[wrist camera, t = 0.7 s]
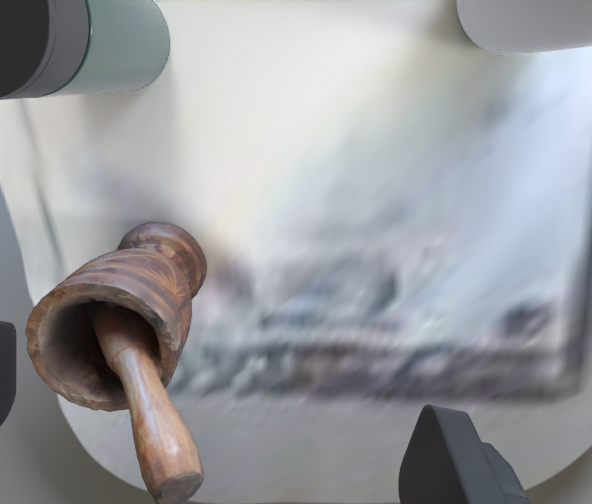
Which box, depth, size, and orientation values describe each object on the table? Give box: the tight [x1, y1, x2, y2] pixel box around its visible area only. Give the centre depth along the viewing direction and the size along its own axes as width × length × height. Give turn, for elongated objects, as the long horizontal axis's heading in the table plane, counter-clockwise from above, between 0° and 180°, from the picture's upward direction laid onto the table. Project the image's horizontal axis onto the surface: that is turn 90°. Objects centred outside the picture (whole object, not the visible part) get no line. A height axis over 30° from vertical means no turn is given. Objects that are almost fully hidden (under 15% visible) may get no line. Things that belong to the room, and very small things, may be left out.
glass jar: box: [32, 0, 170, 98], centre depth 26 cm, size 7×7×16 cm
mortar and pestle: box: [25, 223, 207, 504], centre depth 30 cm, size 12×9×20 cm
